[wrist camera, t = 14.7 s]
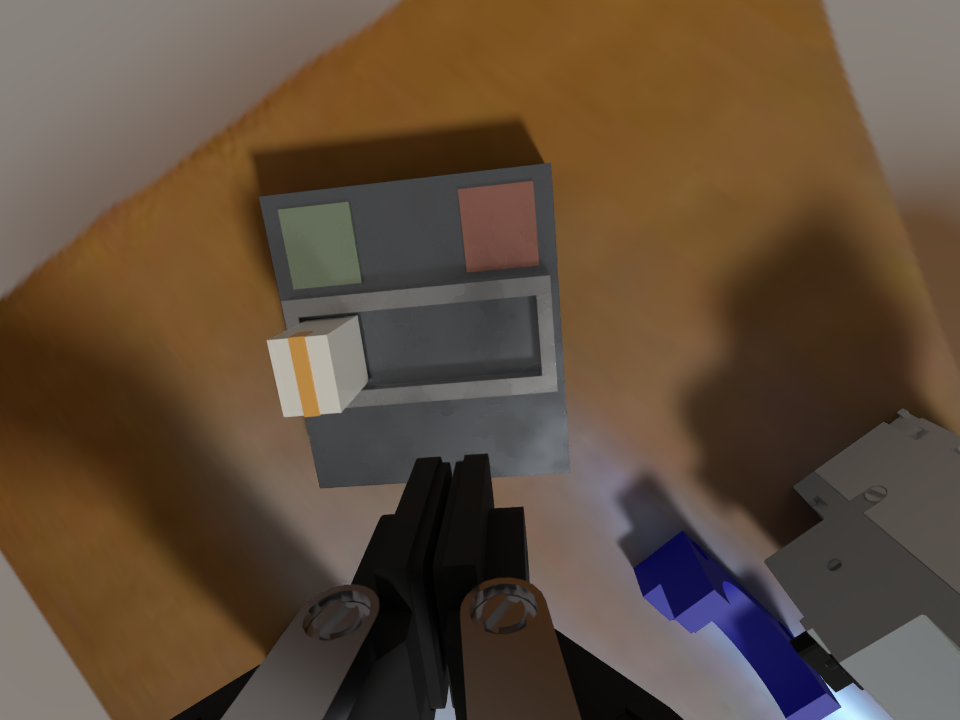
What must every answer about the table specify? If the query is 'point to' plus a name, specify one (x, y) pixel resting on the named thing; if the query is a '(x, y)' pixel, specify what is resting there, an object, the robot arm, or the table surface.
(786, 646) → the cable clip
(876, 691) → the circuit breaker
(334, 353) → the taped parcel
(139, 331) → the table surface
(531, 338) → the panel
